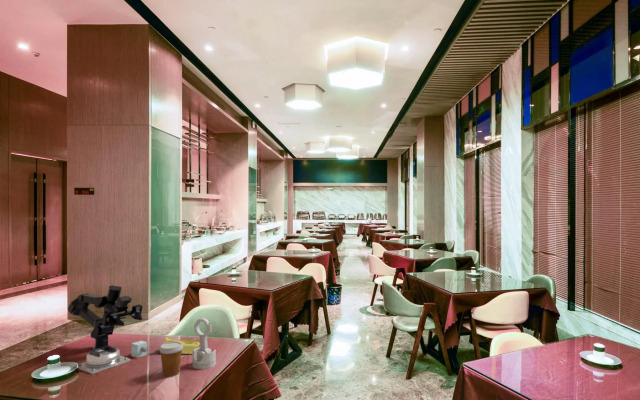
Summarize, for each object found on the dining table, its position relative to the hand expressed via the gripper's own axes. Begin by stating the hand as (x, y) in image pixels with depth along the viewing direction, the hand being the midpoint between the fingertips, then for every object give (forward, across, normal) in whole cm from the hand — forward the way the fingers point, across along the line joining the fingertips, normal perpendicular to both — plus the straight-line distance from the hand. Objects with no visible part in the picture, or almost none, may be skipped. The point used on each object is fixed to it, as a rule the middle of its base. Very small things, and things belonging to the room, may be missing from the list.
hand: (133, 321), depth 176 cm
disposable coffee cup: (+36, -4, +7) cm, 37 cm away
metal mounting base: (+1, -12, +17) cm, 21 cm away
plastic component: (+19, +19, +13) cm, 30 cm away
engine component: (+40, +10, +6) cm, 42 cm away
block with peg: (+5, +3, +16) cm, 17 cm away
